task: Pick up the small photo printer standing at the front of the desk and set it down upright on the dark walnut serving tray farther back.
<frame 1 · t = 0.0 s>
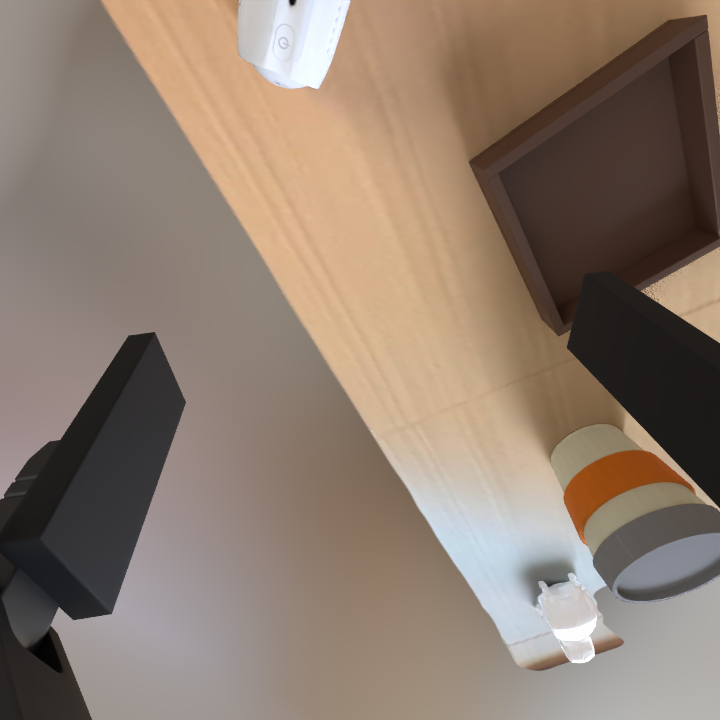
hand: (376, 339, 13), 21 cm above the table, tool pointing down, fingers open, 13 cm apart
tray: (593, 197, 33), on the table
reusable coffee cup: (585, 449, 51), on the table
white animal figurine: (556, 592, 73), on the table
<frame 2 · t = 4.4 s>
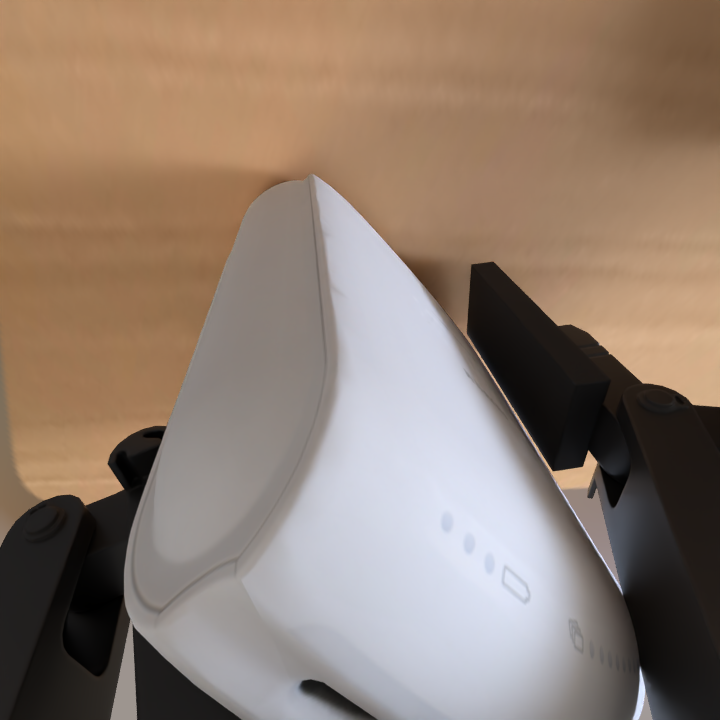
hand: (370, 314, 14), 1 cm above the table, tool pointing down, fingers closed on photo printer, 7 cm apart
photo printer: (366, 304, 15), on the table, touching gripper
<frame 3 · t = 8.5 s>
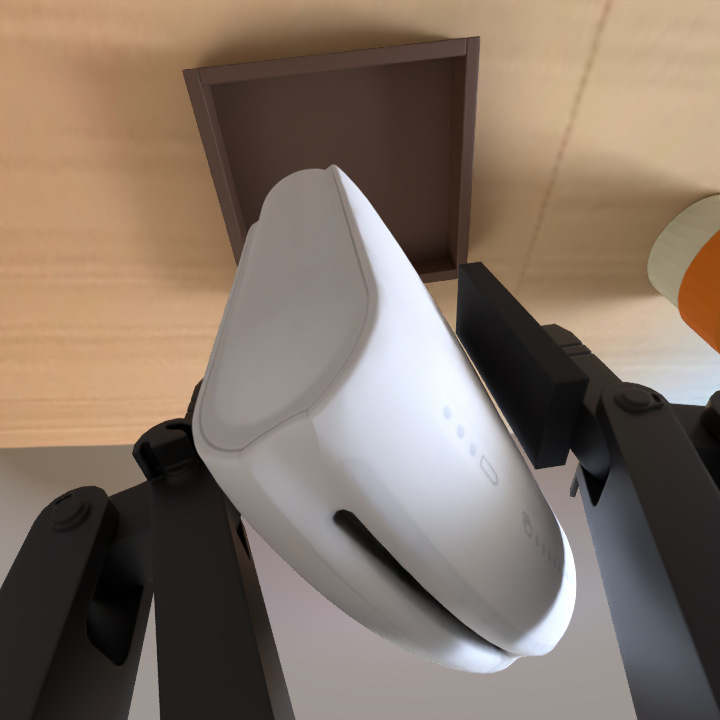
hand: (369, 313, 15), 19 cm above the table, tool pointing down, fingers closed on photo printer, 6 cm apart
tray: (344, 181, 30), on the table
photo printer: (365, 289, 17), point 16 cm above the table, touching gripper
reusable coffee cup: (697, 246, 36), on the table
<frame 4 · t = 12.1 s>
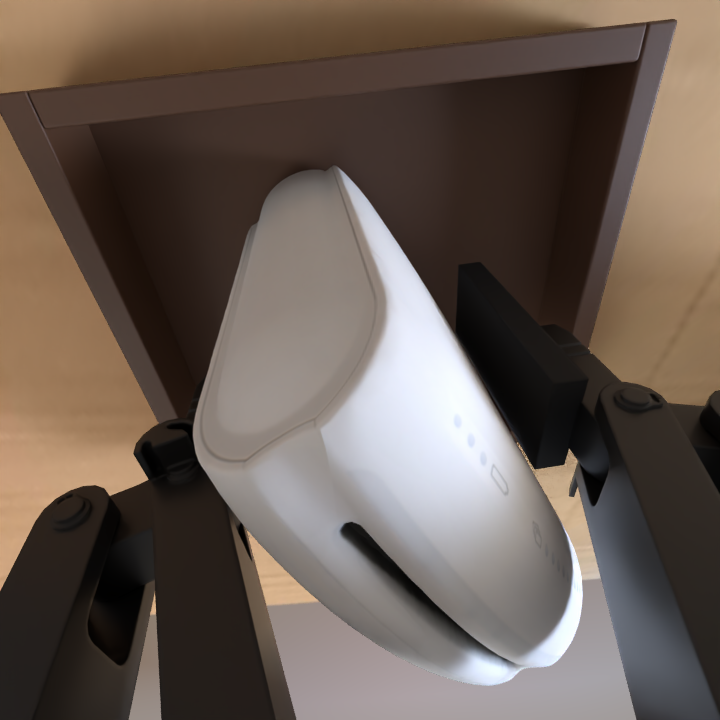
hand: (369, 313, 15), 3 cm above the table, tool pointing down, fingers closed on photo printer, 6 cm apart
tray: (359, 282, 17), on the table
photo printer: (365, 291, 16), resting on tray, touching gripper
when the fingers open (3 cm above the table, at t = 12.1 s): photo printer stays where it is, resting on tray.
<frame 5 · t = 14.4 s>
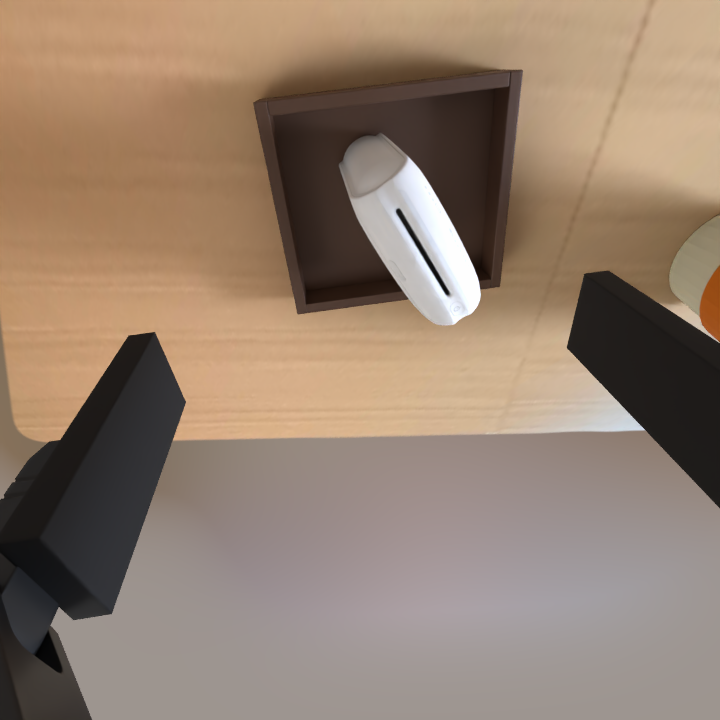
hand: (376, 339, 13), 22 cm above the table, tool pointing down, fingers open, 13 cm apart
tray: (388, 197, 32), on the table
photo printer: (391, 202, 32), resting on tray
reusable coffee cup: (717, 257, 38), on the table
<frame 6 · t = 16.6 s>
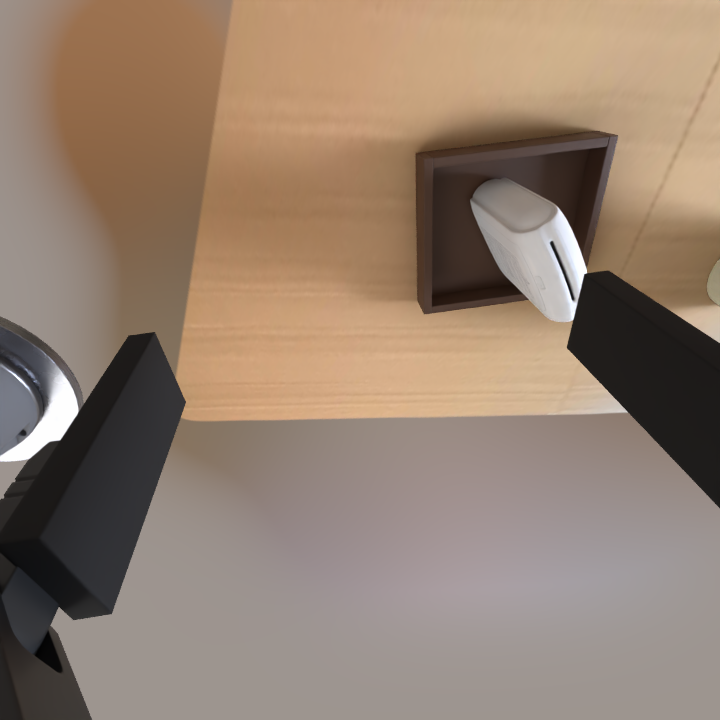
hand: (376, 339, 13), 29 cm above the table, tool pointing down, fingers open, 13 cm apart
tray: (498, 223, 41), on the table
photo printer: (501, 227, 41), resting on tray
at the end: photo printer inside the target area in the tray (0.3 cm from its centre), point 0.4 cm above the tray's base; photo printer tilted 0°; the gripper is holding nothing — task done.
